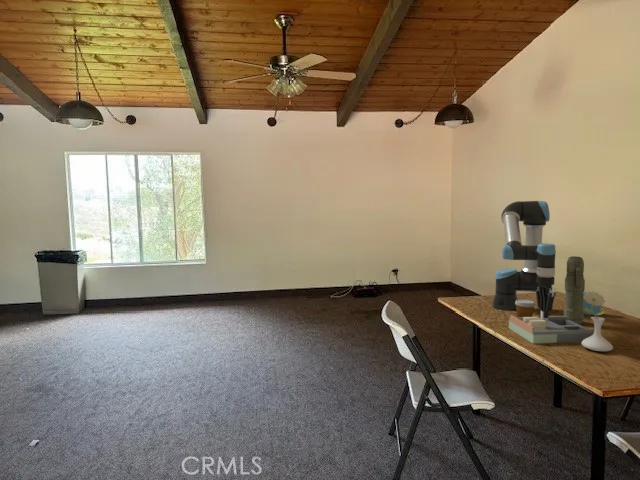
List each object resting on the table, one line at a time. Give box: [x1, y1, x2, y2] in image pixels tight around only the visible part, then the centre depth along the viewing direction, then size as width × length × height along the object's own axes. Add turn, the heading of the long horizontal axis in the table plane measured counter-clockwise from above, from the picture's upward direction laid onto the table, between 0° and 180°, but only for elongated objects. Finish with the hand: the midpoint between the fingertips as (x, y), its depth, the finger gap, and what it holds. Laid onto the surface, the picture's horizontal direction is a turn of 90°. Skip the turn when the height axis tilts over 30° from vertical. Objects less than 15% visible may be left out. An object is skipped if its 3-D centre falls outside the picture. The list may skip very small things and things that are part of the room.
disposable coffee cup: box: [515, 298, 536, 317], centre depth 209 cm, size 10×10×12 cm
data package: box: [583, 291, 602, 316], centre depth 224 cm, size 12×4×12 cm, turn 69°
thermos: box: [563, 255, 586, 326], centre depth 208 cm, size 9×12×35 cm
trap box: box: [508, 314, 595, 344], centre depth 192 cm, size 22×30×7 cm
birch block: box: [523, 316, 546, 330], centre depth 191 cm, size 7×7×4 cm
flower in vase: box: [580, 291, 614, 352], centre depth 172 cm, size 13×11×25 cm
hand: (544, 323), depth 191 cm, fingers closed
